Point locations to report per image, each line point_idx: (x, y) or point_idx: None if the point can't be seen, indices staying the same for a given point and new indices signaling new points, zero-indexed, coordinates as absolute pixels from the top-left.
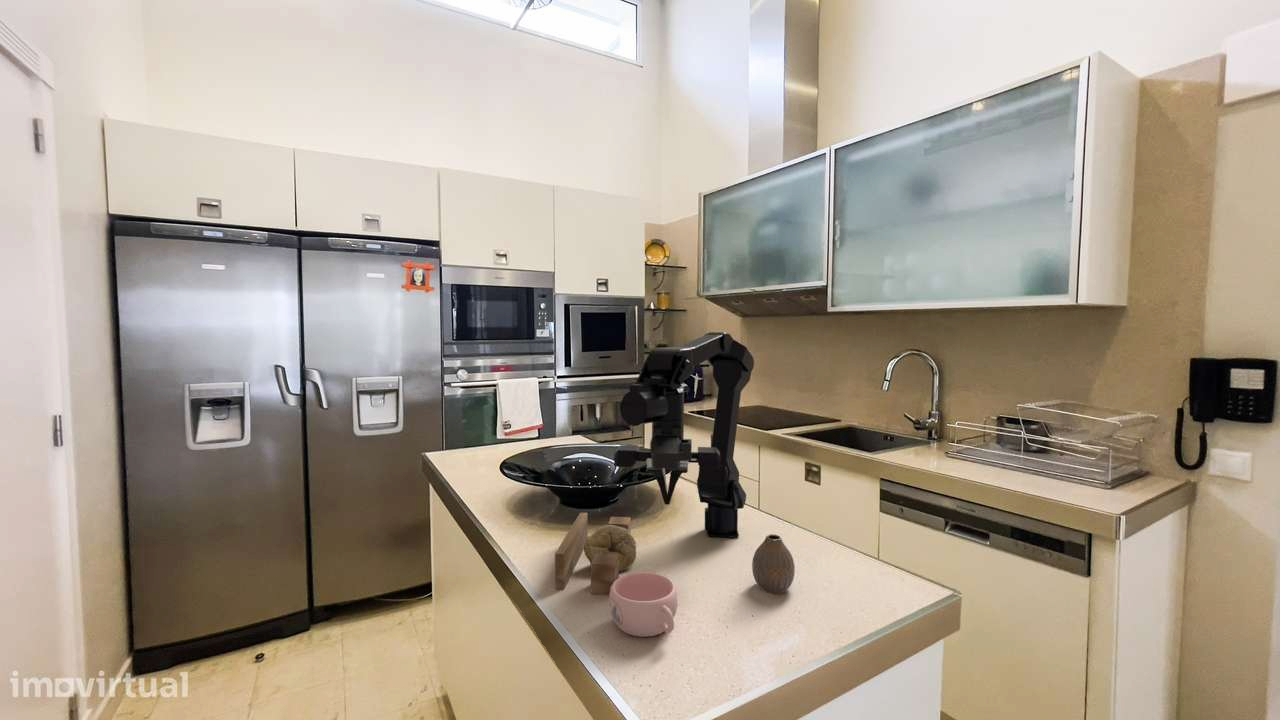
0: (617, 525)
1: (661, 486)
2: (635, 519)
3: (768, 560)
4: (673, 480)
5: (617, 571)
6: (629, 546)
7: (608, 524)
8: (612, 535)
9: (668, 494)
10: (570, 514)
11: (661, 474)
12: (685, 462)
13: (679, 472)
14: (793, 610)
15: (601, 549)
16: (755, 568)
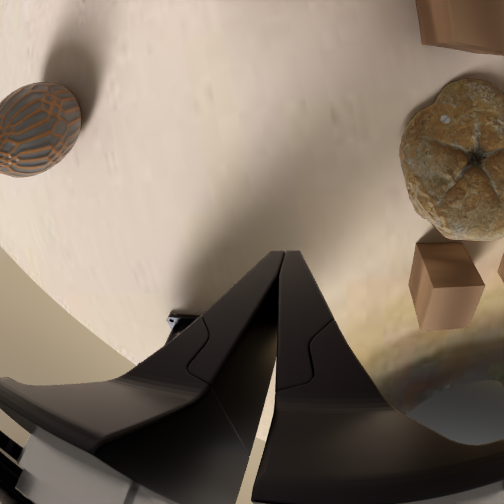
0: (461, 284)
1: (316, 327)
2: (388, 372)
3: (11, 99)
4: (180, 366)
5: (434, 20)
6: (427, 173)
7: (483, 284)
8: (487, 195)
9: (263, 284)
10: (496, 367)
11: (299, 431)
12: (33, 487)
13: (32, 394)
14: (33, 52)
15: (502, 141)
16: (50, 97)
